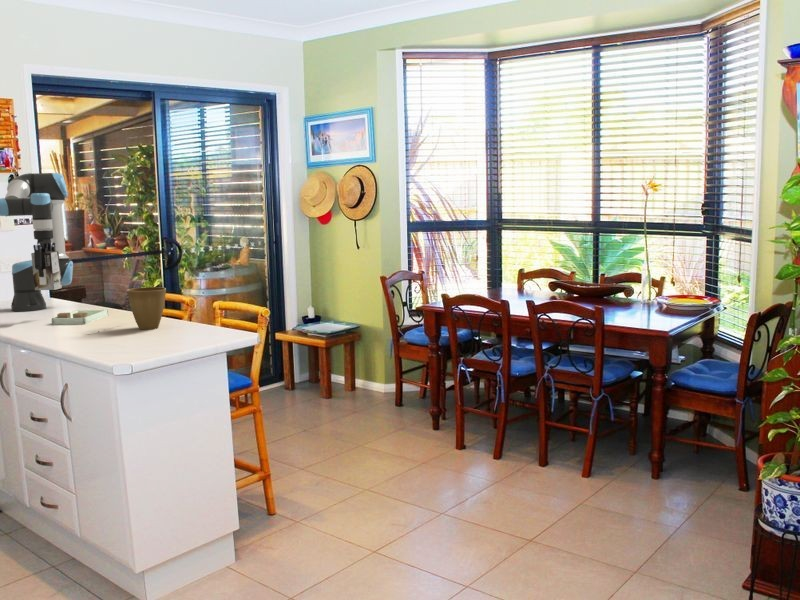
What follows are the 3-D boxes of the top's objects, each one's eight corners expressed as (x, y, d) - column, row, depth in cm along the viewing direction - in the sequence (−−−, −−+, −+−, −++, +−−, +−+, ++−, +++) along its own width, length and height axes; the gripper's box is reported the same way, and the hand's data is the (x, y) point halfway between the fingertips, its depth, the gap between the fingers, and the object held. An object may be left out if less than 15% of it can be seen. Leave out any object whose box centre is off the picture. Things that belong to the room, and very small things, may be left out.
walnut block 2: (80, 321, 318) (79, 312, 318) (88, 322, 317) (87, 312, 317) (73, 323, 315) (72, 313, 314) (81, 323, 313) (80, 314, 313)
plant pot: (156, 331, 297) (154, 291, 295) (122, 331, 300) (119, 291, 298) (175, 325, 311) (172, 286, 309) (142, 324, 314) (139, 286, 312)
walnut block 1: (61, 322, 318) (60, 312, 318) (71, 321, 319) (70, 312, 318) (58, 323, 314) (57, 314, 314) (68, 323, 315) (67, 314, 314)
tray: (77, 318, 335) (77, 310, 334) (108, 317, 334) (108, 309, 334) (52, 326, 313) (51, 318, 313) (85, 326, 312) (84, 318, 312)
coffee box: (62, 288, 328) (59, 251, 326) (54, 290, 322) (51, 252, 320) (42, 288, 329) (39, 251, 327) (33, 290, 323) (30, 252, 321)
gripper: (46, 228, 332) (50, 280, 335) (21, 231, 313) (27, 286, 316) (63, 228, 331) (67, 280, 335) (39, 230, 312) (44, 286, 316)
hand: (47, 283), depth 325 cm, fingers closed on coffee box, 6 cm apart
